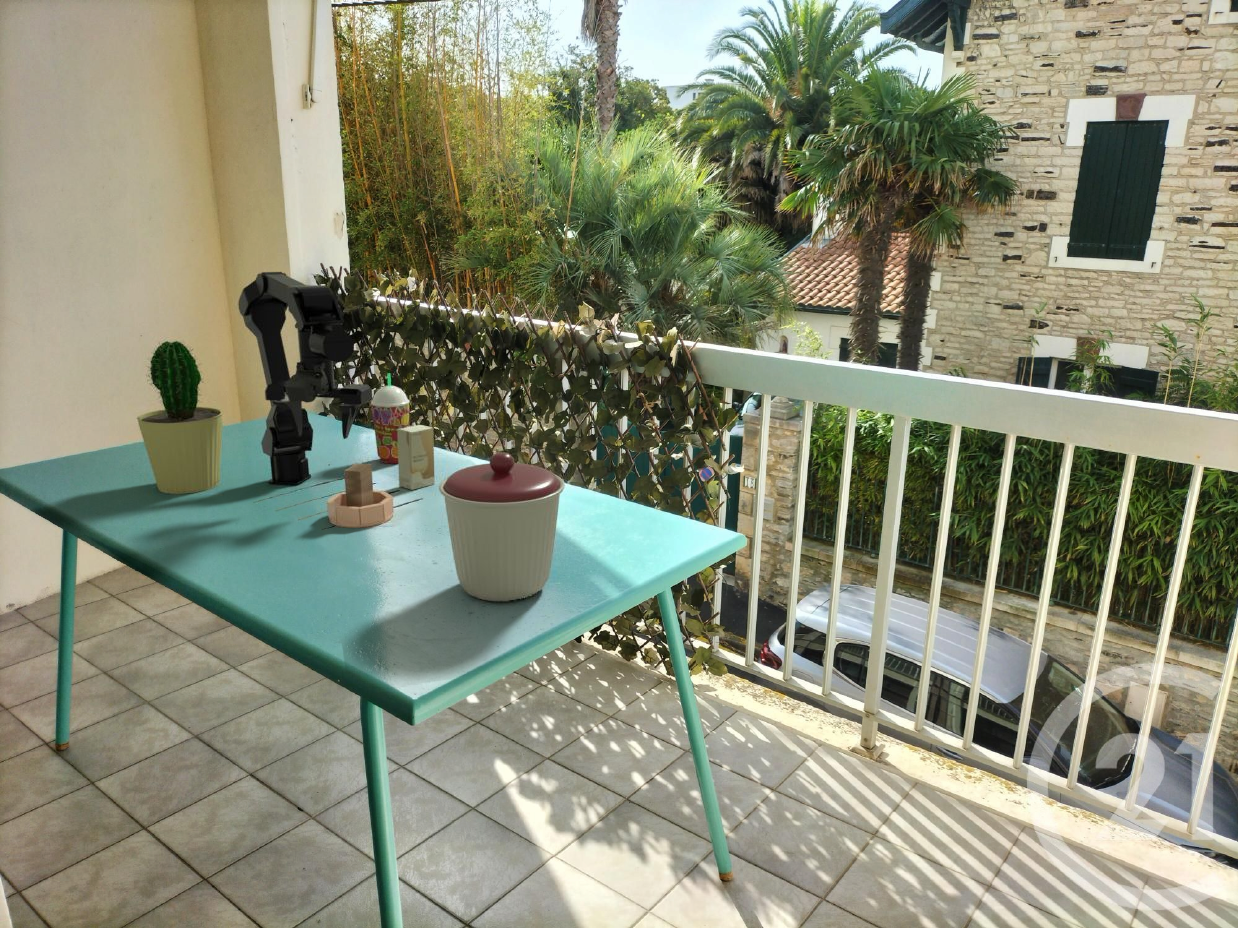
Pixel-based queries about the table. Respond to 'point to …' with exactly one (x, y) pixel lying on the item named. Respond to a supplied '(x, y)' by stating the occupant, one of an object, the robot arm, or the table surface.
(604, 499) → the table surface
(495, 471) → the canister
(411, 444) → the skincare box
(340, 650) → the table surface
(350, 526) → the peach octagonal dish
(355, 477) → the tall tan cardboard carton
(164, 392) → the potted cactus
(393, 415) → the smoothie
